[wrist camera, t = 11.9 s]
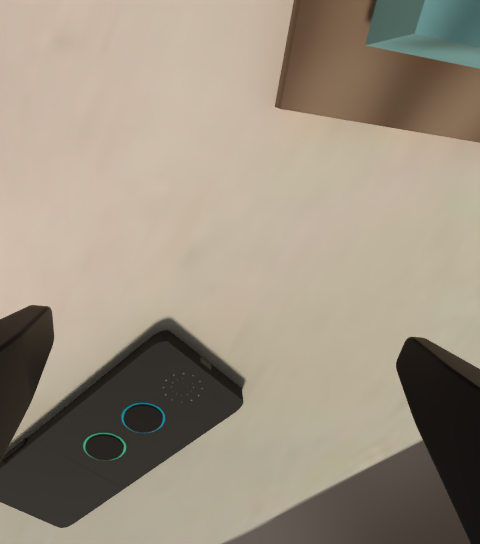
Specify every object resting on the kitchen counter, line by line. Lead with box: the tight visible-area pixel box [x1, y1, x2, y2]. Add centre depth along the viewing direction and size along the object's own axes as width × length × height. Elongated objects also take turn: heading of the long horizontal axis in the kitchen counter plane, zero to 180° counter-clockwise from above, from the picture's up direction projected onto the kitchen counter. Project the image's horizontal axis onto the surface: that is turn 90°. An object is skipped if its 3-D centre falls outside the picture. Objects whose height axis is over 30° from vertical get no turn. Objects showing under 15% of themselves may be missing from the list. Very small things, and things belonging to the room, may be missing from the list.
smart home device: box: [0, 330, 243, 528], centre depth 27 cm, size 8×2×20 cm
